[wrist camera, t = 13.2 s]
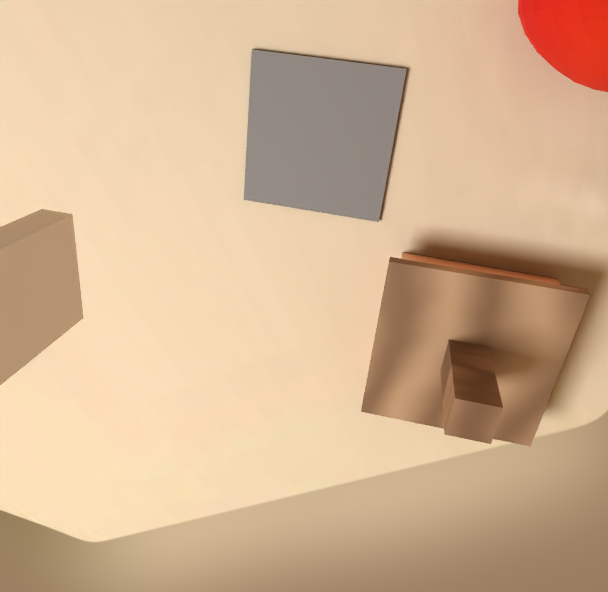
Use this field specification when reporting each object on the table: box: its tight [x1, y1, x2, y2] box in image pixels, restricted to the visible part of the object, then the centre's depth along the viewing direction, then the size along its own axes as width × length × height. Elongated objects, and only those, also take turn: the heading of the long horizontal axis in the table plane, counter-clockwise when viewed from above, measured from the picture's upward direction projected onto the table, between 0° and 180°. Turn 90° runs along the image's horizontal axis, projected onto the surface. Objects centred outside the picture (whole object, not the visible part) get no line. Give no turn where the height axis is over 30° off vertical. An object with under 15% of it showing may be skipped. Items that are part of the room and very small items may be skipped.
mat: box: [244, 49, 407, 222], centre depth 42 cm, size 12×12×1 cm
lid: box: [361, 257, 590, 446], centre depth 39 cm, size 15×15×9 cm
